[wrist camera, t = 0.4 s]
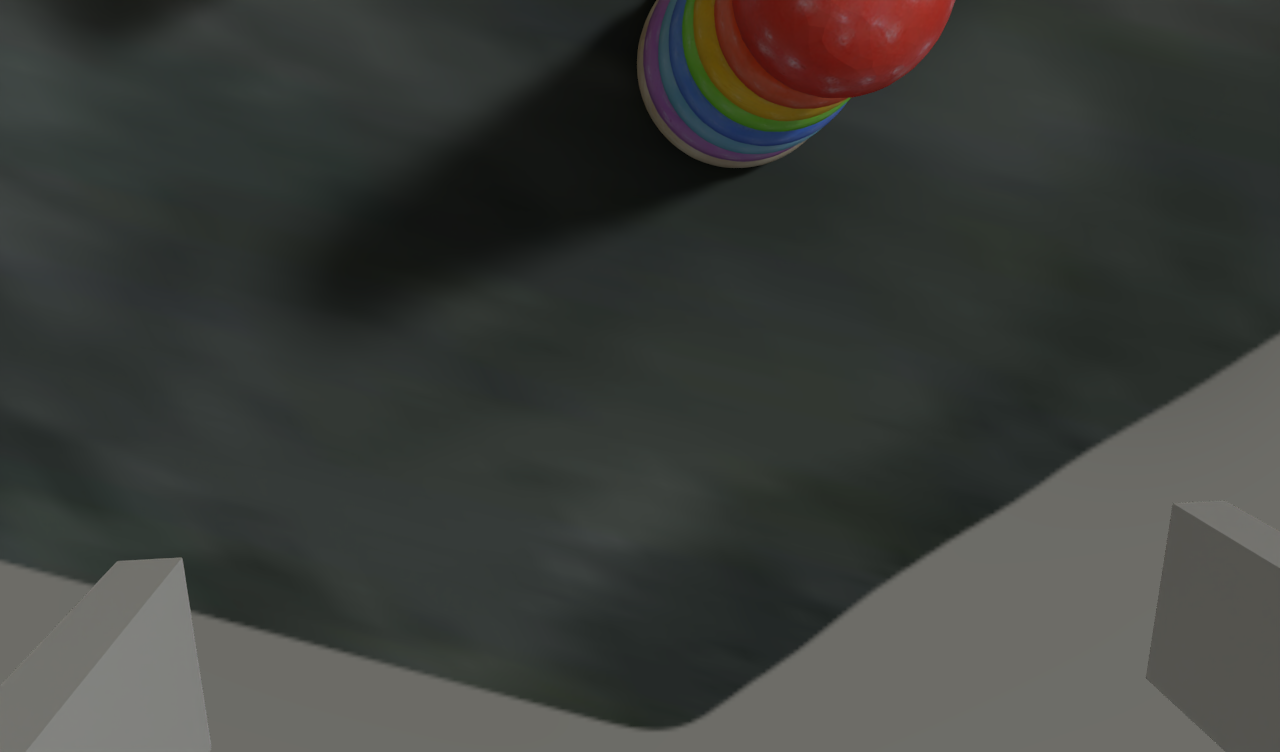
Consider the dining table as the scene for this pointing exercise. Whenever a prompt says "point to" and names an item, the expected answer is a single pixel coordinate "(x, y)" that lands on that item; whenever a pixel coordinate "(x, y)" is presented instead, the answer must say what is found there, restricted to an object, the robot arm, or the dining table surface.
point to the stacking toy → (772, 68)
